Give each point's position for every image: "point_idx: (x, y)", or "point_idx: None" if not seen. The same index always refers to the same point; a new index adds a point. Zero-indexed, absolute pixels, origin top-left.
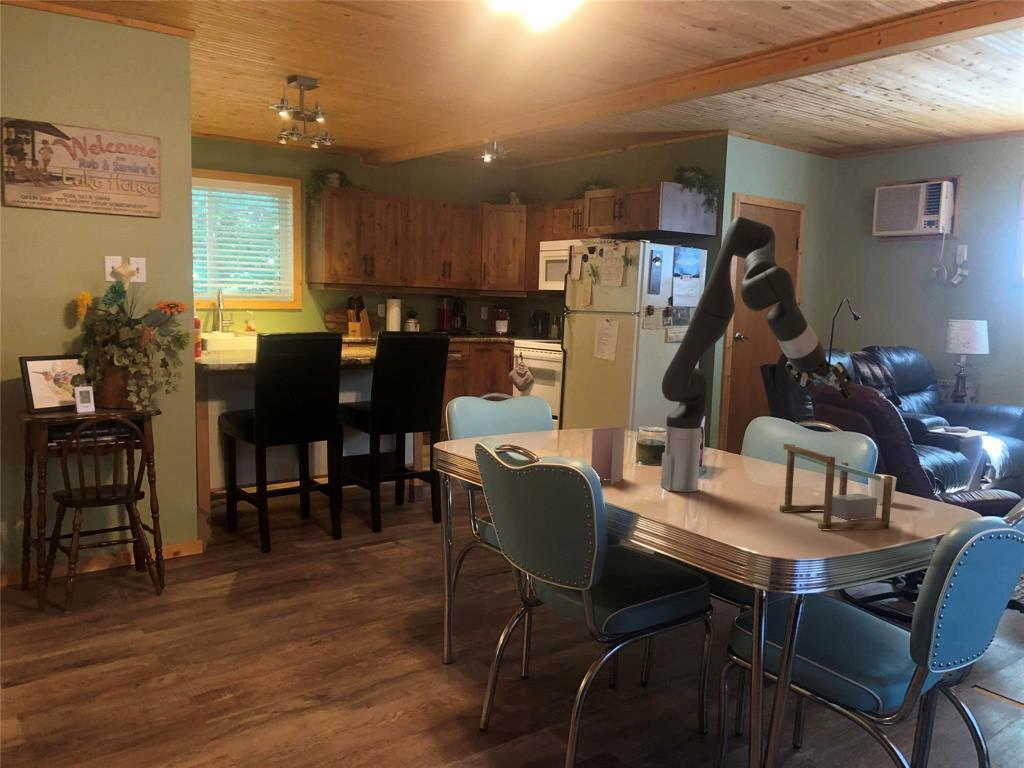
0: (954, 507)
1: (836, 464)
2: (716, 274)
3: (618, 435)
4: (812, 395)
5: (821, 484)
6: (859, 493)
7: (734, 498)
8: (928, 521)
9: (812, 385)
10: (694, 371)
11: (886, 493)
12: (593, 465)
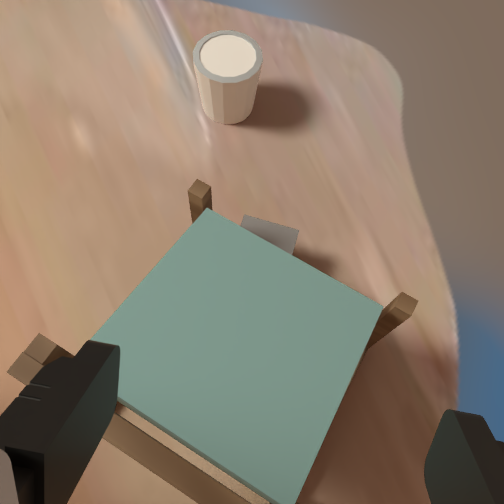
0: (345, 35)
1: (291, 434)
2: None
3: None
4: (104, 432)
5: (52, 38)
6: (244, 217)
7: None
8: (379, 191)
9: (72, 439)
10: None
11: (392, 329)
12: None
